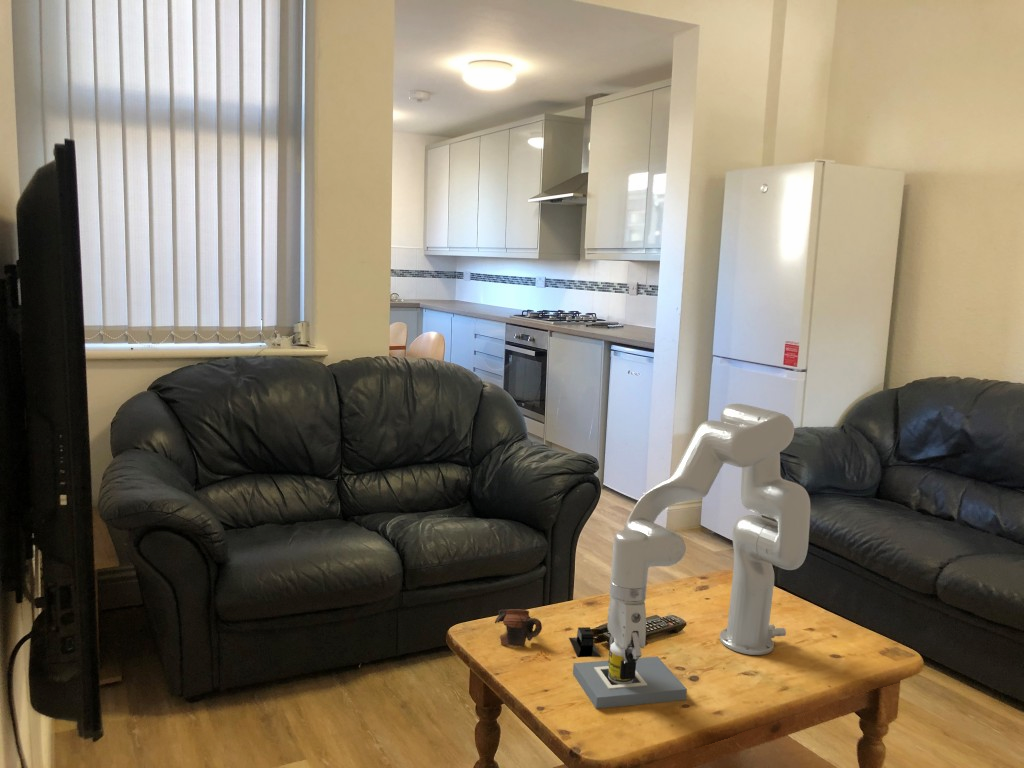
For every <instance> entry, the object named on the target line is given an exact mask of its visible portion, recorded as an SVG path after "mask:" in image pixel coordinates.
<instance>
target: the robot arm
mask: <svg viewBox="0 0 1024 768" xmlns="http://www.w3.org/2000/svg"><path fill="white" fill-rule="evenodd" d="M794 434H795V426H794V423H793V421H792V419H791V417H789V415H786V414H785V413H781V412H778V411H773V410H770V409H764V408H760V407H757V406H753V405H750V404H749V405H747V404H742V403H730V404H727V405H726V406H725V407H723V409H722V411H721V413H720V421H719V420H718V421H717V420H706V421H704V422H702V423H700V424H699V425H698V427H697V428H696V430H695V432H694V433H693V434H692V437H691V439H690V440H689V442H688V444H687V446H686V448H685V450H684V452H683V453H682V454H681V455H682V456H681V457H680V459H679V461H678V462H677V464H676V466H675V468H674V470H673V473H672V474H670V476H669V477H668V478H666V479H665V480H663V481H661V482H659V483H658V484H656V485H655V486H653V487H652V488H650V489H649V490H648V491H647V492H645V493H644V494H643V495H642V496H641V497H640V498H639V499H638V500H637V502H636V504H634V507H633V509H632V510H631V512H630V514H629V515H628V517H627V519H626V522H625V525H624V526H623V530H620V531H618V532H617V533H615V535H614V537H613V544H612V545H613V546H612V547H613V548H612V557H611V558H612V559H611V571H610V582H609V583H610V584H609V597H610V598H609V603H608V612H607V623H606V624H607V631H608V632H609V633H608V634H609V639H608V640H609V641H608V643H609V647H610V646H611V644H612V643H613V642H614V638H615V639H616V641H617V643H618V644H619V645H620V646H621V647H622V649H623V661H621V669H620V678H621V680H625V679H634V678H635V671H636V662H637V659H638V658H642V650H641V649H644V648H645V646H646V636H647V634H646V632H647V631H646V630H647V614H646V613H647V612H646V611H647V610H646V603H645V601H646V598H647V587H648V576H649V575H648V574H649V568H650V567H654V568H655V567H670V566H674V565H677V564H678V563H679V562H680V561H681V560H682V559H683V558H684V557H685V555H686V549H687V545H686V542H685V539H684V538H683V537H682V536H681V535H680V534H678V533H677V532H675V531H673V530H671V529H668V528H666V527H664V526H662V525H660V524H658V523H656V520H657V518H659V517H658V516H659V515H660V514H661V513H662V512H663V511H665V510H666V509H667V508H669V507H670V506H673V505H675V504H678V503H683V502H688V501H693V500H699V499H703V498H705V497H706V496H707V495H708V494H709V492H710V490H711V488H712V486H713V485H714V482H715V480H716V479H717V476H718V475H719V474H720V472H721V469H722V468H723V466H724V464H727V465H730V466H733V467H737V468H741V483H740V490H741V491H740V496H741V497H740V499H741V504H742V506H743V507H744V509H746V510H748V511H750V512H751V513H754V514H746V515H744V516H742V517H740V518H739V519H738V520H737V521H736V522H735V524H734V526H733V530H732V545H733V547H732V548H733V571H732V580H731V589H730V598H729V599H730V600H729V607H728V608H729V609H728V617H727V618H728V619H727V627H726V628H724V629H722V630H721V631H720V632H719V637H718V638H719V641H720V642H721V644H722V645H724V646H725V647H726V648H728V649H730V650H732V651H734V652H737V653H741V654H744V655H751V656H763V655H767V654H769V653H771V652H772V651H773V650H774V645H775V644H774V641H773V639H774V638H775V637H785V636H786V635H787V630H786V629H785V627H775V625H774V624H770V623H771V620H770V619H771V610H772V603H773V595H774V587H775V572H774V570H775V569H774V568H773V566H775V567H778V568H780V569H783V570H787V571H793V570H797V569H799V568H800V567H801V566H802V565H803V563H804V562H805V560H806V557H807V554H808V549H809V541H810V540H809V539H810V537H809V536H810V525H811V524H810V521H811V499H810V495H809V493H808V491H807V490H806V488H805V487H803V486H802V485H801V484H798V483H797V482H794V481H790V480H787V479H784V478H783V477H782V475H781V454H780V453H781V452H782V451H784V450H785V449H786V448H788V446H789V445H791V442H792V441H793V438H794V436H795V435H794ZM755 514H757V515H755ZM629 644H632V646H628V645H629ZM627 650H632V653H630V654H629V655H628V656H627ZM609 656H610V649H609V652H608V657H609Z"/></svg>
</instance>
